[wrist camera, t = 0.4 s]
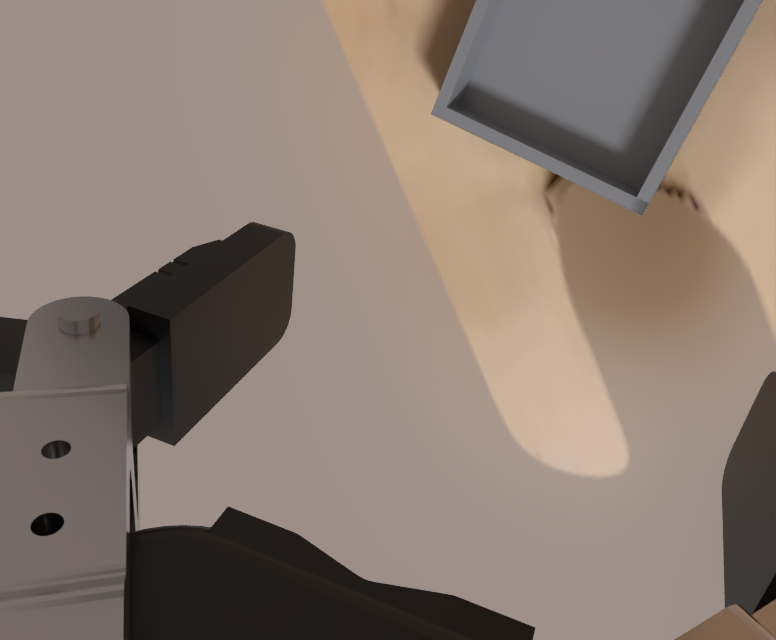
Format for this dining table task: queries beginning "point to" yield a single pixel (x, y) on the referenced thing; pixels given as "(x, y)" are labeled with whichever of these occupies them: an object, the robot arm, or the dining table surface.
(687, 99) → the tray
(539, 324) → the dining table surface
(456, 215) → the dining table surface
